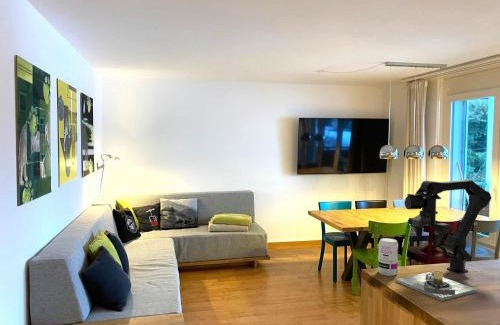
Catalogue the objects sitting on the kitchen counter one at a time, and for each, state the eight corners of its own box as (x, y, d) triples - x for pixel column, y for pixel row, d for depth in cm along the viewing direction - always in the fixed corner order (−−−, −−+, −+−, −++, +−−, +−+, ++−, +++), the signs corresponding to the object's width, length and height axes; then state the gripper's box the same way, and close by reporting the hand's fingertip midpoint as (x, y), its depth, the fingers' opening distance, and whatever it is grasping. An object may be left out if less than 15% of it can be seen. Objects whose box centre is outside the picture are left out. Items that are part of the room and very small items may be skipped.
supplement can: (394, 270, 181) (395, 238, 180) (399, 276, 173) (400, 242, 172) (376, 269, 182) (377, 237, 181) (380, 276, 174) (381, 242, 173)
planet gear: (436, 283, 162) (436, 268, 161) (450, 288, 156) (450, 273, 156) (425, 285, 159) (425, 271, 159) (439, 291, 153) (439, 276, 153)
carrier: (428, 274, 175) (429, 266, 175) (476, 292, 156) (476, 282, 156) (395, 281, 167) (396, 272, 166) (441, 301, 147) (442, 290, 147)
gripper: (399, 207, 183) (398, 240, 184) (434, 213, 166) (433, 250, 167) (416, 205, 188) (415, 237, 189) (452, 211, 171) (450, 247, 172)
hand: (427, 243), depth 179 cm, fingers open, 9 cm apart
